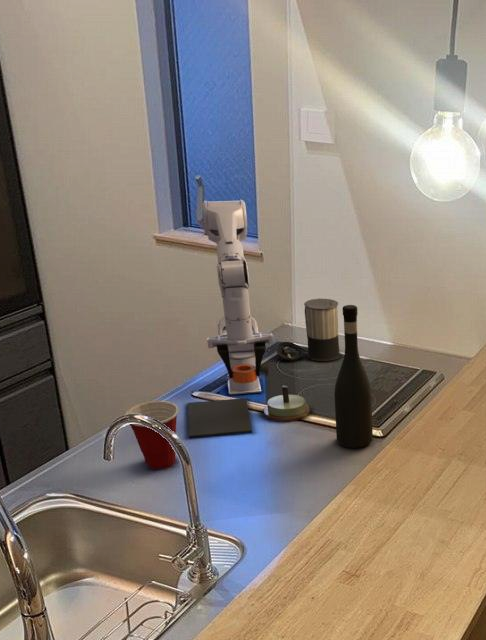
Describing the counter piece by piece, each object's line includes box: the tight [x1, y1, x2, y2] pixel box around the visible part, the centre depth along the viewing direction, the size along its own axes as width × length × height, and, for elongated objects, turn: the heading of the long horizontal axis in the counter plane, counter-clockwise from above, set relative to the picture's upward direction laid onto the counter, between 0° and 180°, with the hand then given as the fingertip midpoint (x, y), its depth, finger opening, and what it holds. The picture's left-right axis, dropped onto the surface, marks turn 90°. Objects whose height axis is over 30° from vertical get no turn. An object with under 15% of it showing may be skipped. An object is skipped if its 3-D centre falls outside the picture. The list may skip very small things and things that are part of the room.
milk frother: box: [276, 298, 341, 362], centre depth 233 cm, size 14×16×15 cm
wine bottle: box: [333, 304, 374, 449], centre depth 182 cm, size 8×8×30 cm
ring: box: [231, 364, 257, 383], centre depth 197 cm, size 6×6×3 cm
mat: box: [187, 397, 253, 439], centre depth 201 cm, size 20×14×1 cm
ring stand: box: [263, 384, 311, 423], centre depth 202 cm, size 11×11×7 cm
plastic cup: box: [124, 400, 179, 470], centre depth 177 cm, size 11×11×12 cm
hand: (244, 375), depth 197 cm, fingers closed on ring, 5 cm apart
